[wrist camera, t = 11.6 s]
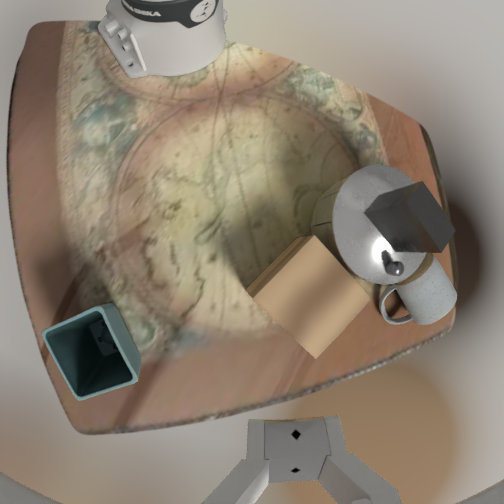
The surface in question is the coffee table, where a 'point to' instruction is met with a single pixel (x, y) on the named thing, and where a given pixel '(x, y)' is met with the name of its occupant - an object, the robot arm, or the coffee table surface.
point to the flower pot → (94, 351)
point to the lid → (386, 224)
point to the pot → (327, 222)
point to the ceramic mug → (423, 294)
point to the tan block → (309, 294)
